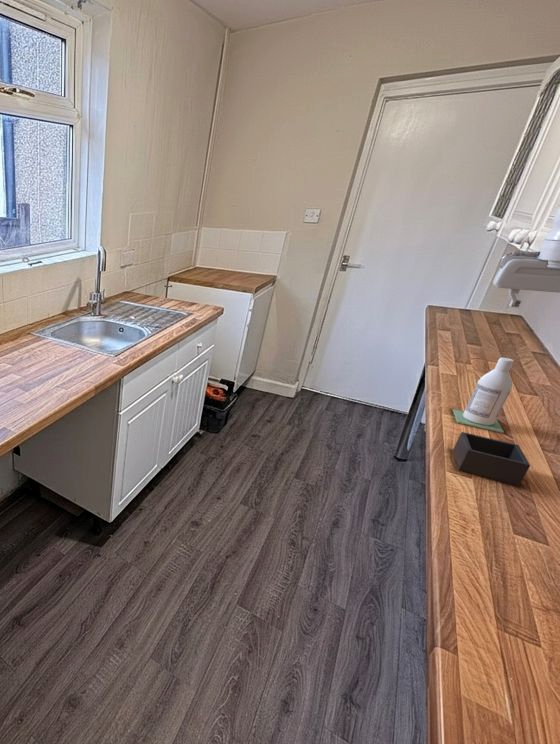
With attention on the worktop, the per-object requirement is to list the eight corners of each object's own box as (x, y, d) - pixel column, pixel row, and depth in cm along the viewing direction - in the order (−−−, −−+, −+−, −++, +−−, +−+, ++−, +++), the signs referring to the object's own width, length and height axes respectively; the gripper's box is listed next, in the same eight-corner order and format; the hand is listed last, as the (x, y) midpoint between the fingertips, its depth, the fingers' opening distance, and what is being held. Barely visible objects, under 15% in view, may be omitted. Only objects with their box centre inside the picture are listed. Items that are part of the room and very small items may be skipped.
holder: (507, 464, 105) (518, 444, 103) (518, 486, 97) (530, 465, 95) (452, 450, 111) (461, 431, 109) (458, 470, 103) (468, 450, 101)
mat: (495, 419, 127) (496, 418, 126) (503, 433, 119) (504, 432, 119) (452, 410, 132) (453, 408, 132) (457, 422, 125) (457, 421, 124)
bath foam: (478, 414, 128) (507, 355, 120) (500, 426, 122) (532, 363, 114) (456, 414, 129) (483, 354, 121) (476, 425, 122) (506, 363, 114)
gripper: (508, 251, 103) (485, 306, 108) (638, 257, 91) (606, 317, 97) (502, 249, 107) (481, 301, 113) (625, 254, 96) (595, 312, 101)
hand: (539, 309), depth 104 cm, fingers open, 8 cm apart
